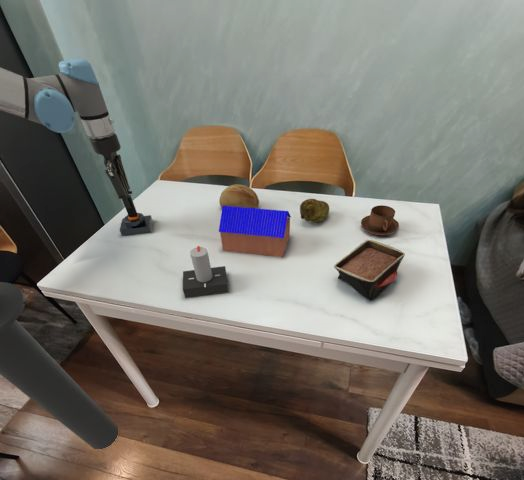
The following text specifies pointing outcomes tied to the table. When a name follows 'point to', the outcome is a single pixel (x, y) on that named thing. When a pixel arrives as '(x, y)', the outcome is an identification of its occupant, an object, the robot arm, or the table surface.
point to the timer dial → (201, 264)
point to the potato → (314, 210)
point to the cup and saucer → (380, 221)
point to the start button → (133, 218)
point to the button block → (136, 225)
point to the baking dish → (370, 268)
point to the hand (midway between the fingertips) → (133, 215)
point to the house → (254, 230)
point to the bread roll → (239, 197)
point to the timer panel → (205, 283)
